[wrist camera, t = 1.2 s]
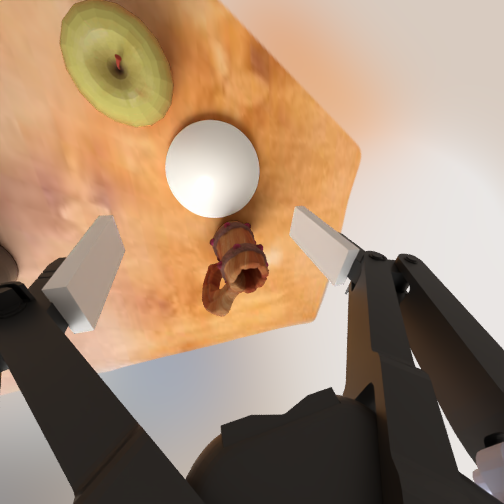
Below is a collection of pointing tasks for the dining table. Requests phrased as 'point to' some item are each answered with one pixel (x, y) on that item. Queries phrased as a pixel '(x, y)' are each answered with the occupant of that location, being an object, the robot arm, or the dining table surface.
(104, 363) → the dining table surface
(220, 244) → the mug
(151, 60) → the apple
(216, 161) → the plate
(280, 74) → the dining table surface
